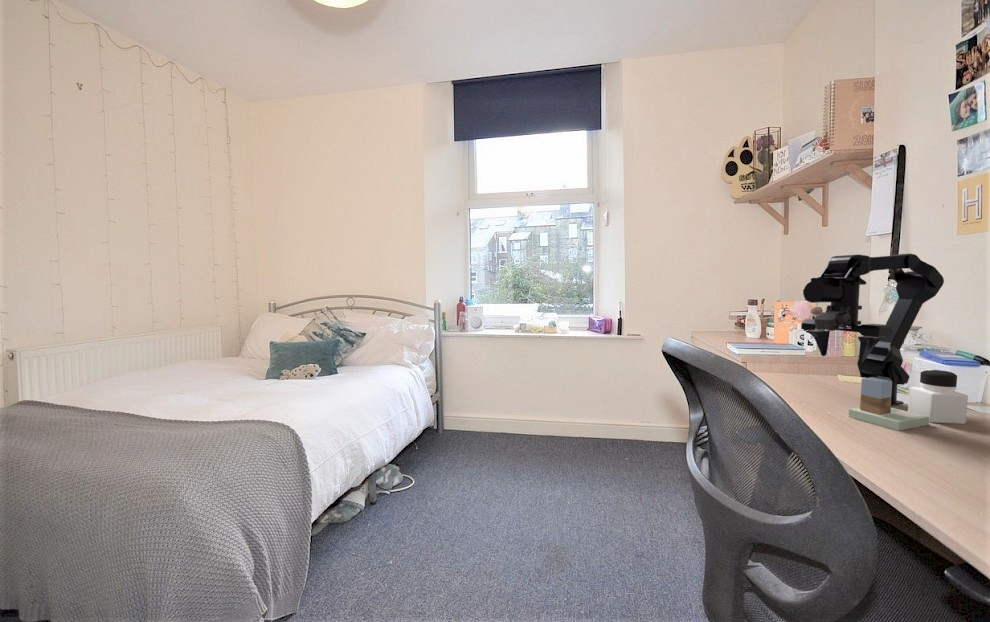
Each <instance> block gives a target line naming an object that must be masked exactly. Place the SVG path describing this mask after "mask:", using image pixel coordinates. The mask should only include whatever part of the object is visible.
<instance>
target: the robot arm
mask: <svg viewBox="0 0 990 622" xmlns="http://www.w3.org/2000/svg"><path fill="white" fill-rule="evenodd" d="M904 269H909V270H910V271H904ZM882 270H883V271H884V270H892V274H891V278H892V279H893V281H894V282H895V283H896V286H895V291H896V294H897V297H898V298H897V301H896V302H895V304H894V306H893V309H892V310H891V313H890V315H888V319H887V320H886V323H885V324H880V323H864V324H862V320H859V310H863V309H862V307H863V305H860V304H859V303H860V302H859V300H860V287H861V286H862V285H863V286H865V285H867V282H866V280H865V279H863V278H861V276H864V275H867V274H869V273H870V272H873V271H882ZM944 283H945V278H944V276H943V275H942V274H941V273H940V272H939V270H938V269H937V268H936V267H935V266H934V265H932V264H929V263H928V262H926V261H923V260H922V259H920V257H919V256H918V255H917V254H914V253H897V254H892V255H882V256H869V255H864V254H847V255H846V254H845V255H844V254H843V255H835V256H832V257H830V260H829V261H828V263H827V264H826V265H825V267H824V269H823V270H822V271H821V272H820V274H819V276H816V277H815V276H812V277H810V281H809V282H808V283H807V284H805V286H804V289H803V291H802V293H803V297H804V300H806V301H807V302H808V303H811V304H812V303H830V305H827V306H826V308H825V309H826V310H825V312H822V313H820V314H818V315H816V316H814V317H813V319H812V318H809V319H804V320H803V321H802V322H801V324H800V330H803V331H804V330H805V333H807V334H809V335H810V336H812V337H813V338H814V341H815V343H816V345H817V347H818V350H819V352H820V355H821V357H826V355H827V352H828V347H829V341H830V334H831V332H832V331H841V332H853V333H859V334H860V335H861V336H860V335H859V336H857V339H858V341H859V343H860V344H859V353H858V356H857V358H858V360H857V368H858V373H859V375H860V378H861V379H863V378H870V377H874V378H879V379H885V380H890V381H892V394H891V407H892V406H897V405H903V404H904V401H902V400H897V399H898V386H899V385H900V386H901V385H906V384H908V383H909V380H910V375H909V373H908V372H907V371H906V369H904V368H903V366H902V365H903V363H904V359H903V356H902V353H901V348H902V347H903V344H904V342H905V340H906V338H907V336H908V334H909V332H910V330H911V328H912V326H913V324H914V321H915V320H916V318H917V316H918V314H919V312H920V310H921V308H922V306H923V305H924V304H925V303H926V302H928V301H930V300H931V299H933V298H934V297H936V295H937V294H938V292H939V291H940V290H941V288H942V287H943V286H944ZM860 285H861V286H860Z"/></svg>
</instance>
